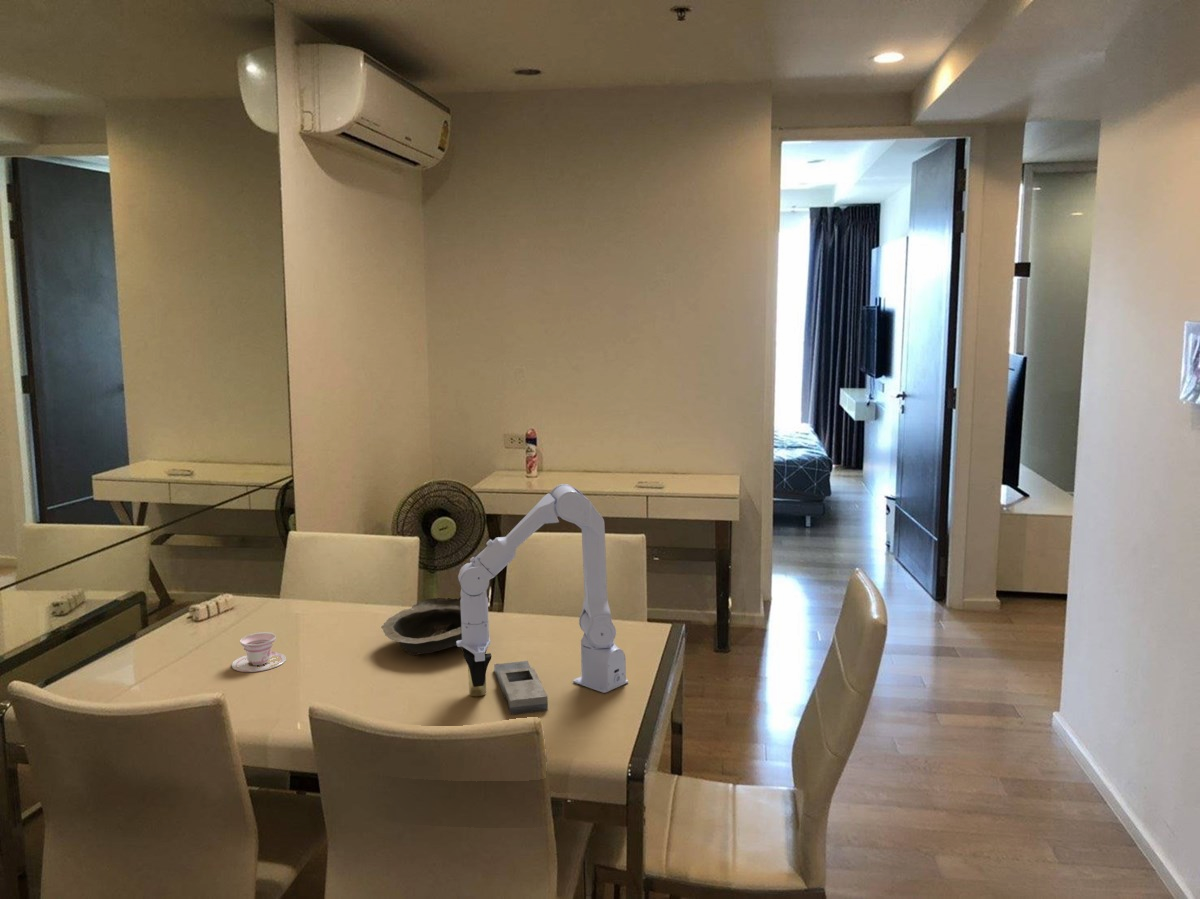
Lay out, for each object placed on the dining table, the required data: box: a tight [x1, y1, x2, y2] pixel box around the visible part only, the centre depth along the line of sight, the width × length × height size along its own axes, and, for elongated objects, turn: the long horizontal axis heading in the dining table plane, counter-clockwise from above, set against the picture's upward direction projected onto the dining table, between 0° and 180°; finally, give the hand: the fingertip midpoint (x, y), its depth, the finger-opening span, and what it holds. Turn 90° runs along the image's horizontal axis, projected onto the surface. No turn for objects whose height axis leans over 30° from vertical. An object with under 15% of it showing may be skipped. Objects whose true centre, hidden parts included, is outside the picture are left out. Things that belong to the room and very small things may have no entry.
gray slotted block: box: [493, 660, 549, 716], centre depth 198 cm, size 24×8×3 cm, turn 14°
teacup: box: [231, 631, 287, 673], centre depth 216 cm, size 12×12×6 cm
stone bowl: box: [380, 597, 462, 656], centre depth 225 cm, size 25×25×9 cm
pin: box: [467, 665, 487, 697], centre depth 196 cm, size 4×4×8 cm
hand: (477, 681), depth 196 cm, fingers closed on pin, 4 cm apart
